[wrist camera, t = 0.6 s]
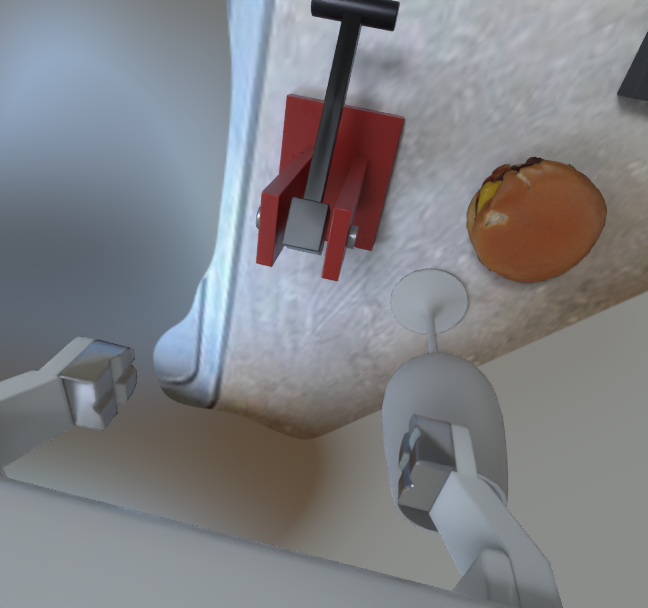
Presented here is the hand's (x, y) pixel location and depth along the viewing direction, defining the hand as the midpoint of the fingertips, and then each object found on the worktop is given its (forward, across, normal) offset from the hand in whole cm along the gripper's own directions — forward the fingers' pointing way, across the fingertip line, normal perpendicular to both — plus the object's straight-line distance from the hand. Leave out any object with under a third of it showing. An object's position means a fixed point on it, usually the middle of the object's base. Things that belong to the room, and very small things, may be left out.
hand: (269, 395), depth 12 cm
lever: (+19, +2, -4) cm, 19 cm away
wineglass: (+27, -9, +11) cm, 31 cm away
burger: (+27, -14, +1) cm, 31 cm away
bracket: (+27, +2, +1) cm, 27 cm away
